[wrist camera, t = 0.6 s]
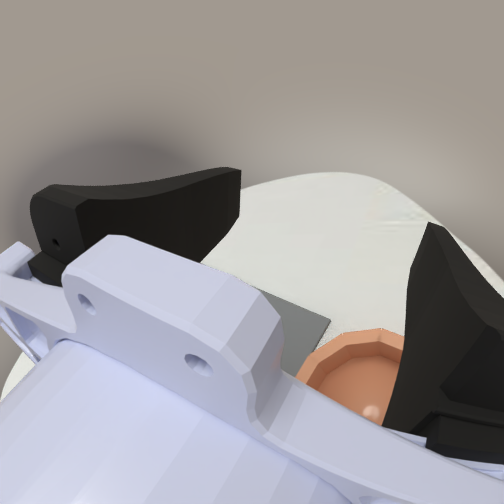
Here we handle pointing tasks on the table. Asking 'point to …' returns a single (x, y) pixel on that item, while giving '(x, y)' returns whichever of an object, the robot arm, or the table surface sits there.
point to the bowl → (356, 370)
